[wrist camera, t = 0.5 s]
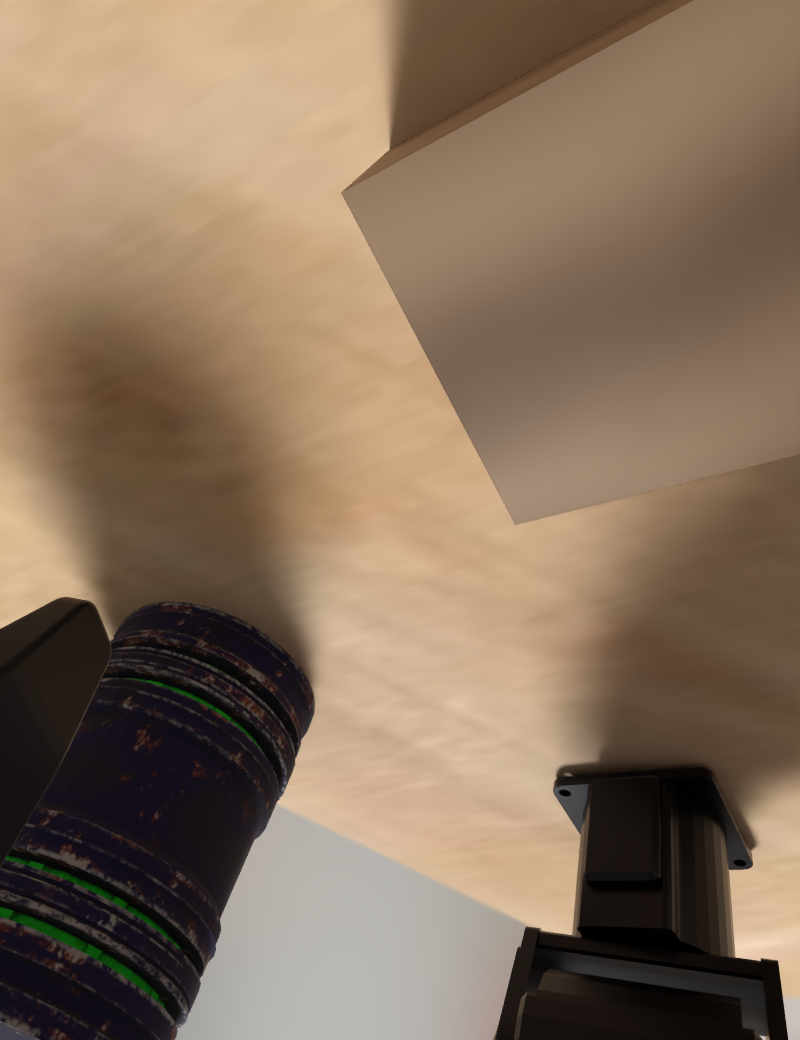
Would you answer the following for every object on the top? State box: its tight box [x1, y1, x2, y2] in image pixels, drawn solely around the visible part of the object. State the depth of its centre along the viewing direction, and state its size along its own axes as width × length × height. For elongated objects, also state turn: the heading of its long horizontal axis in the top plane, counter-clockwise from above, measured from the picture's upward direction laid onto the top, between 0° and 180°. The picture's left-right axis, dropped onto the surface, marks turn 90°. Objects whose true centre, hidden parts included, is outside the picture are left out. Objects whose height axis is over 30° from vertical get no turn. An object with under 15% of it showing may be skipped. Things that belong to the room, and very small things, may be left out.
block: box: [341, 0, 800, 525], centre depth 17 cm, size 9×9×4 cm
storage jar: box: [0, 602, 315, 1040], centre depth 28 cm, size 10×10×15 cm
